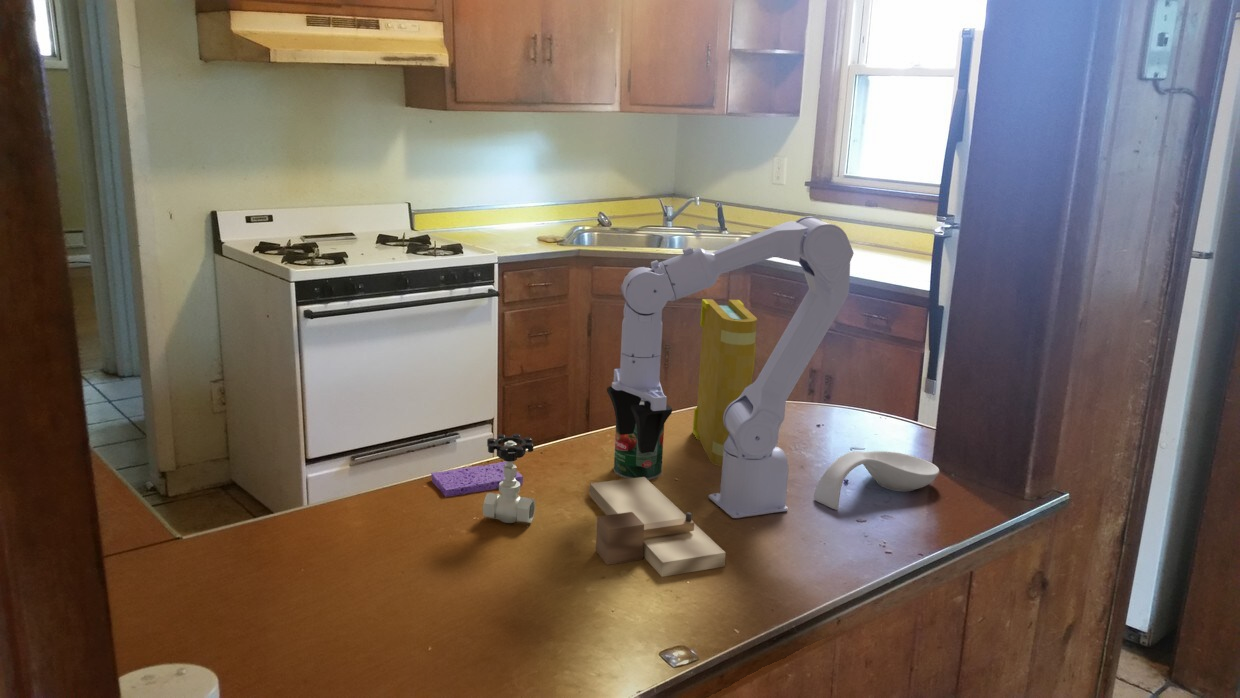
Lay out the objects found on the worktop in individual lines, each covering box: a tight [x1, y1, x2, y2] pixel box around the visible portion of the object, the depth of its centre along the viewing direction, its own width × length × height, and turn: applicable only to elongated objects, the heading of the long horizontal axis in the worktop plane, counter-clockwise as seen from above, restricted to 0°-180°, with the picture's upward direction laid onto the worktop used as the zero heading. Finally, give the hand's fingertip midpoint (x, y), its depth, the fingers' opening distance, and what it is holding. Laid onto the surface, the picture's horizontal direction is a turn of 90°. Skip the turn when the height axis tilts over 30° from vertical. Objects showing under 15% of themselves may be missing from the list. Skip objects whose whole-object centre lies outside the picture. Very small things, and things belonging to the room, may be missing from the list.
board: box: [589, 477, 726, 578], centre depth 129 cm, size 9×26×2 cm, turn 23°
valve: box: [482, 433, 536, 524], centre depth 128 cm, size 7×7×12 cm
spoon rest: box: [813, 450, 940, 510], centre depth 145 cm, size 24×12×7 cm, turn 126°
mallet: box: [595, 512, 695, 566], centre depth 122 cm, size 13×4×5 cm, turn 113°
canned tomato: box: [613, 399, 665, 481], centre depth 148 cm, size 8×8×11 cm
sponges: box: [430, 461, 524, 498], centre depth 142 cm, size 7×13×2 cm, turn 118°
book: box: [692, 298, 758, 468], centre depth 158 cm, size 17×7×25 cm, turn 6°
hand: (636, 442), depth 134 cm, fingers open, 7 cm apart
